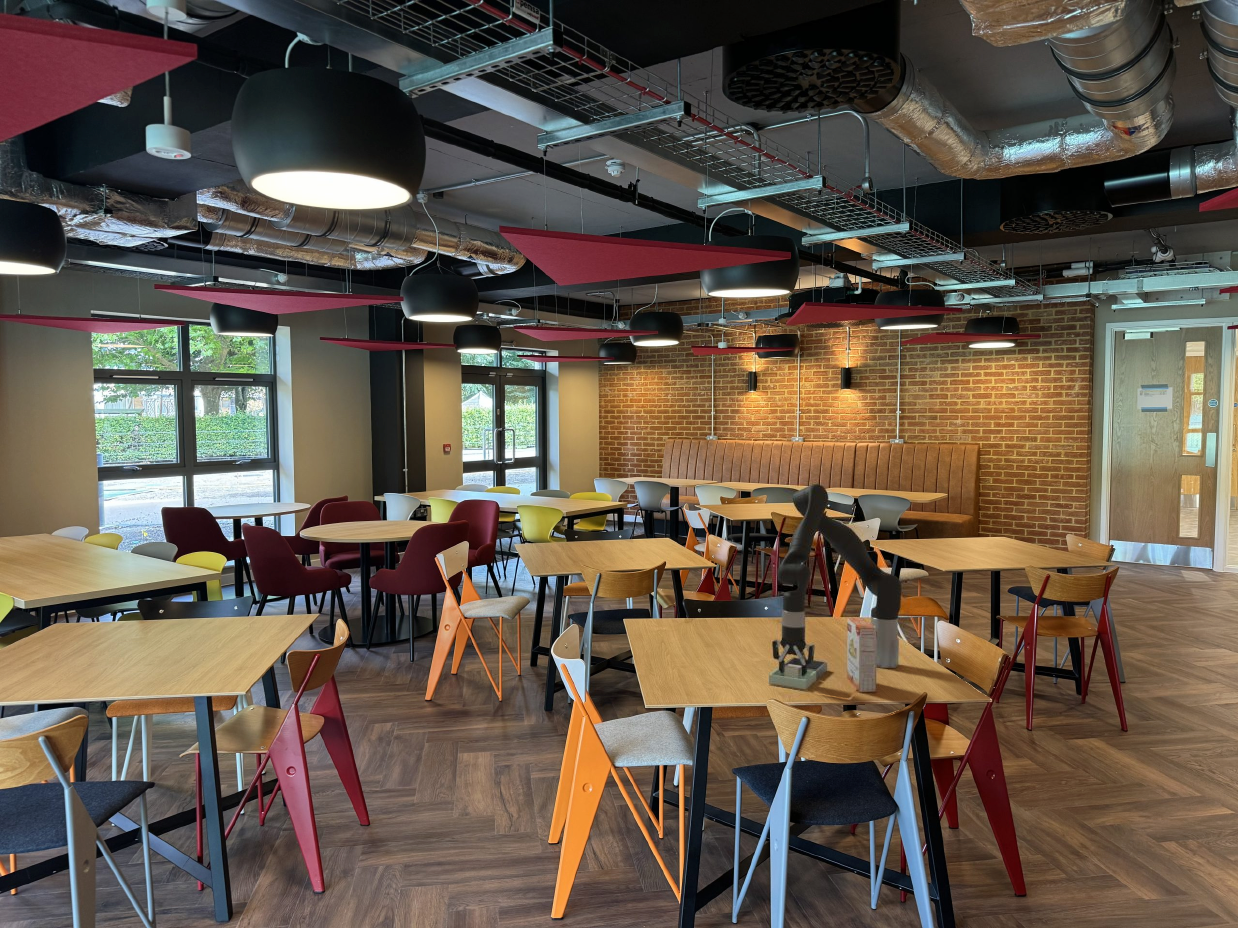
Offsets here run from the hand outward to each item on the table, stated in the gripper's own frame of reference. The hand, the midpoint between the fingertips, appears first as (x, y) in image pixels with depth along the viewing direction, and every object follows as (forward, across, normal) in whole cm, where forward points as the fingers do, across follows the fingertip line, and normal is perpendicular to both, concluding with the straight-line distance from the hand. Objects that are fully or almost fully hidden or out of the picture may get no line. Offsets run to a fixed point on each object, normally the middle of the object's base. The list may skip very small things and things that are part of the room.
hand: (792, 673), depth 259 cm
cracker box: (+3, -20, -9) cm, 22 cm away
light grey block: (+3, 0, 0) cm, 3 cm away
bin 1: (+3, 0, 0) cm, 3 cm away
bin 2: (+3, 0, -13) cm, 13 cm away
